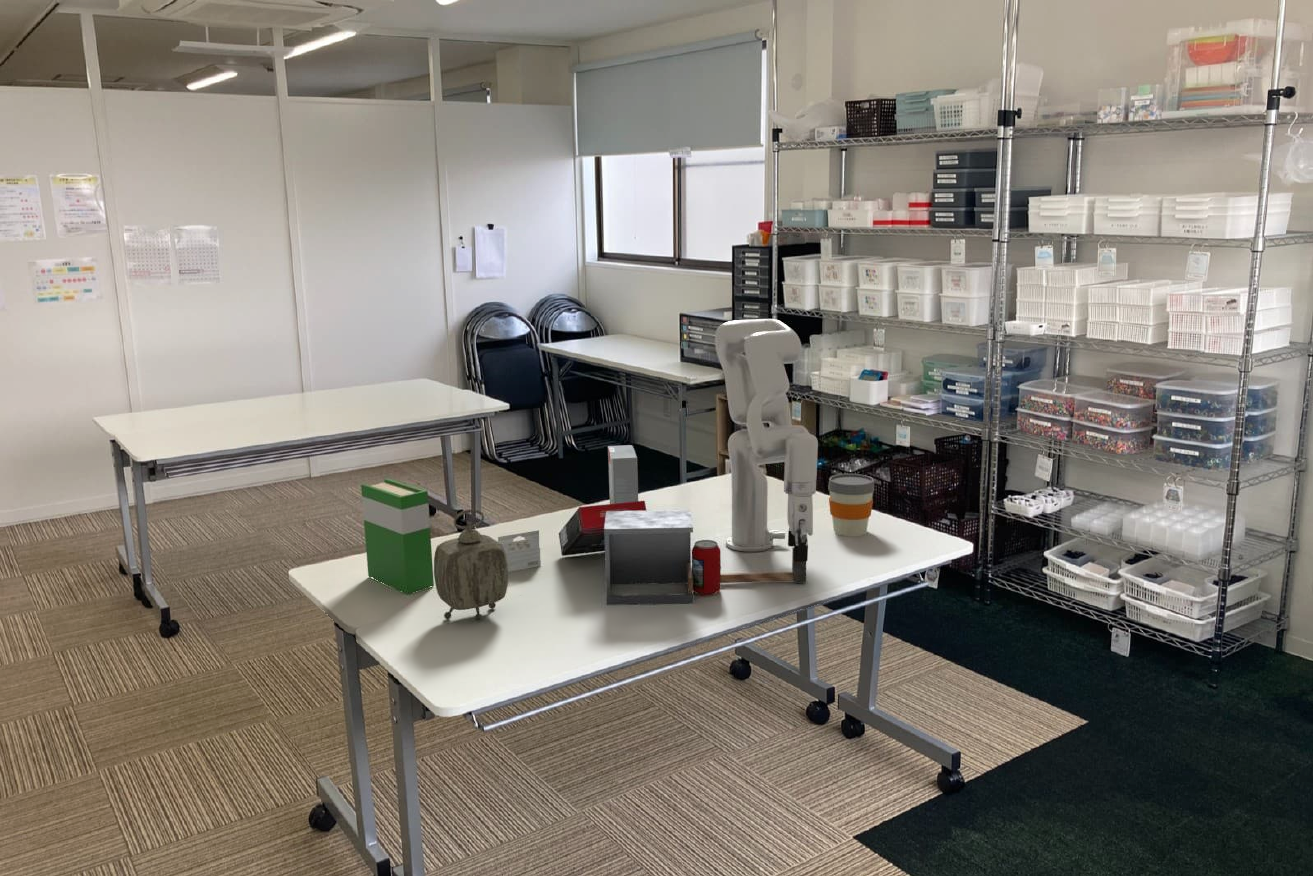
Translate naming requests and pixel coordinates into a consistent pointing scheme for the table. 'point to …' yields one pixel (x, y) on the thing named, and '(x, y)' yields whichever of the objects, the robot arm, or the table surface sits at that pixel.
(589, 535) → the graphics card box
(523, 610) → the table surface
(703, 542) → the beverage can
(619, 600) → the shelf lane
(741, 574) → the pull rod
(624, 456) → the hard drive box
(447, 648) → the table surface
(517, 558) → the ink box
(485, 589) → the tabletop clock
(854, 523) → the reusable coffee cup
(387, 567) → the hardback book
